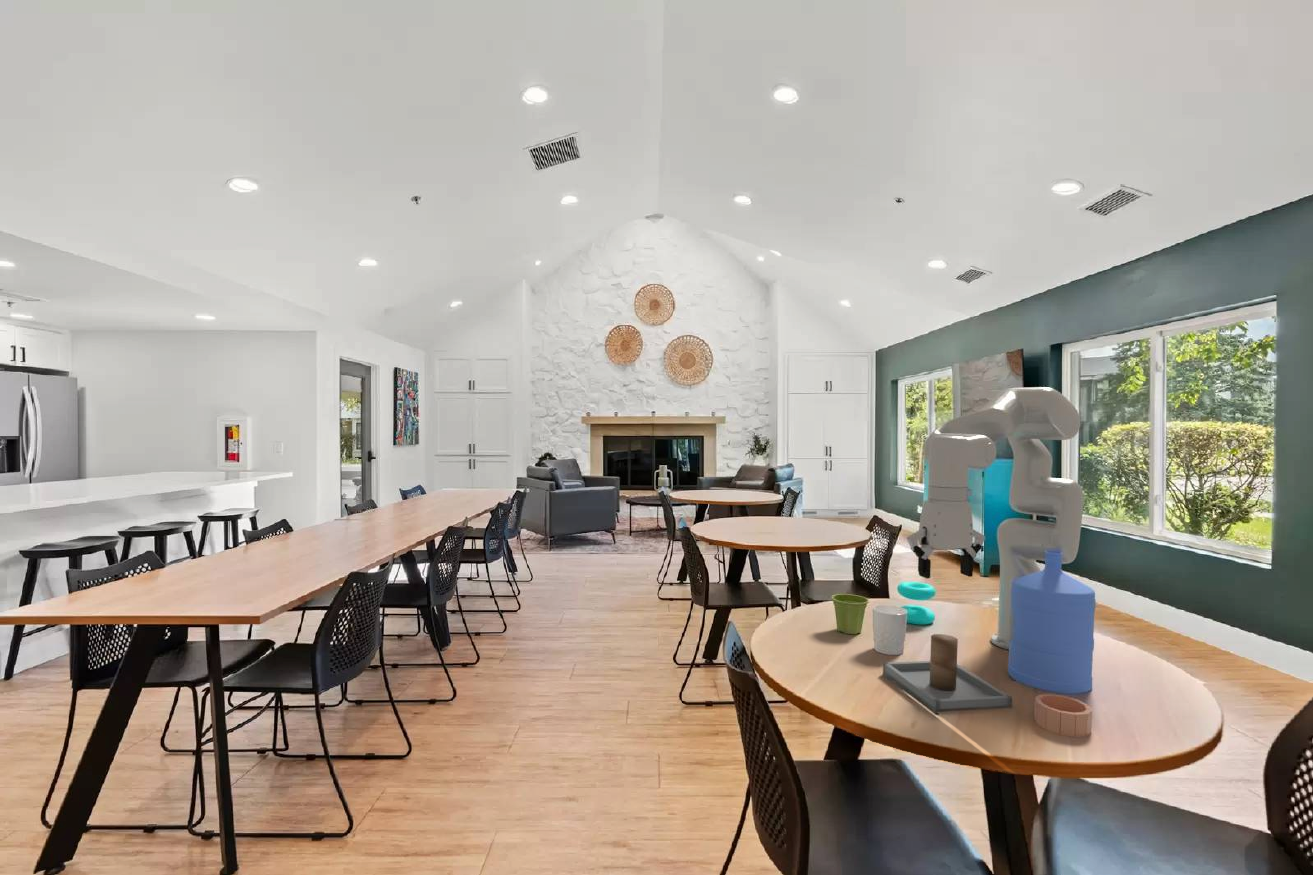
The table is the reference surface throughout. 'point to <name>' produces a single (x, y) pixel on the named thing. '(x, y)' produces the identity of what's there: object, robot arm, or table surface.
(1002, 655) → the table surface
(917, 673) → the slate tray
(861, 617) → the plant pot
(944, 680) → the walnut cylinder
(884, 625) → the white cup
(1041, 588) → the water jug
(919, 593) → the donuts
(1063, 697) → the terracotta cup
